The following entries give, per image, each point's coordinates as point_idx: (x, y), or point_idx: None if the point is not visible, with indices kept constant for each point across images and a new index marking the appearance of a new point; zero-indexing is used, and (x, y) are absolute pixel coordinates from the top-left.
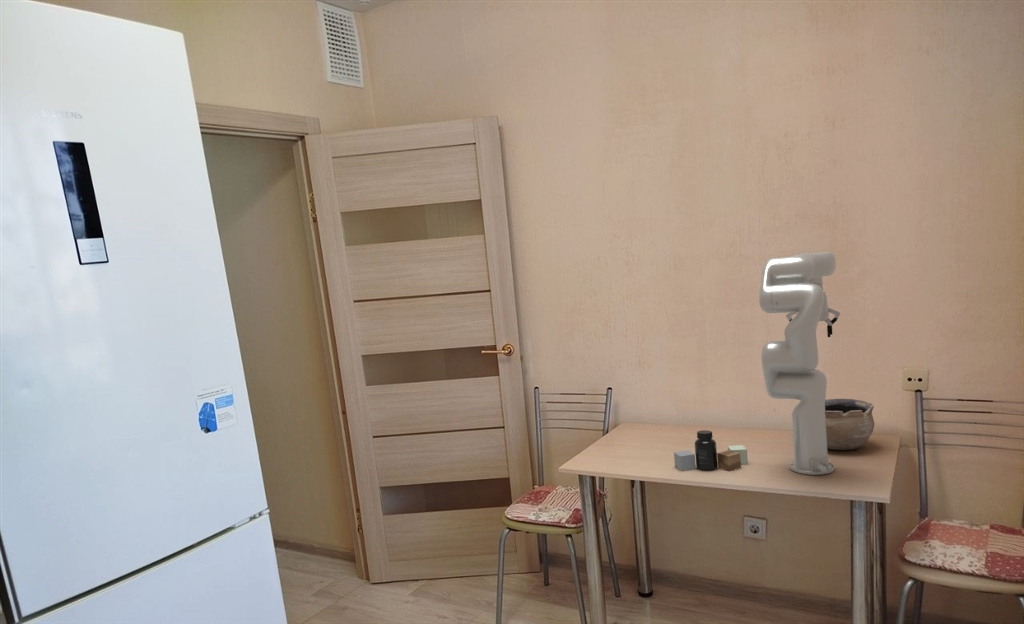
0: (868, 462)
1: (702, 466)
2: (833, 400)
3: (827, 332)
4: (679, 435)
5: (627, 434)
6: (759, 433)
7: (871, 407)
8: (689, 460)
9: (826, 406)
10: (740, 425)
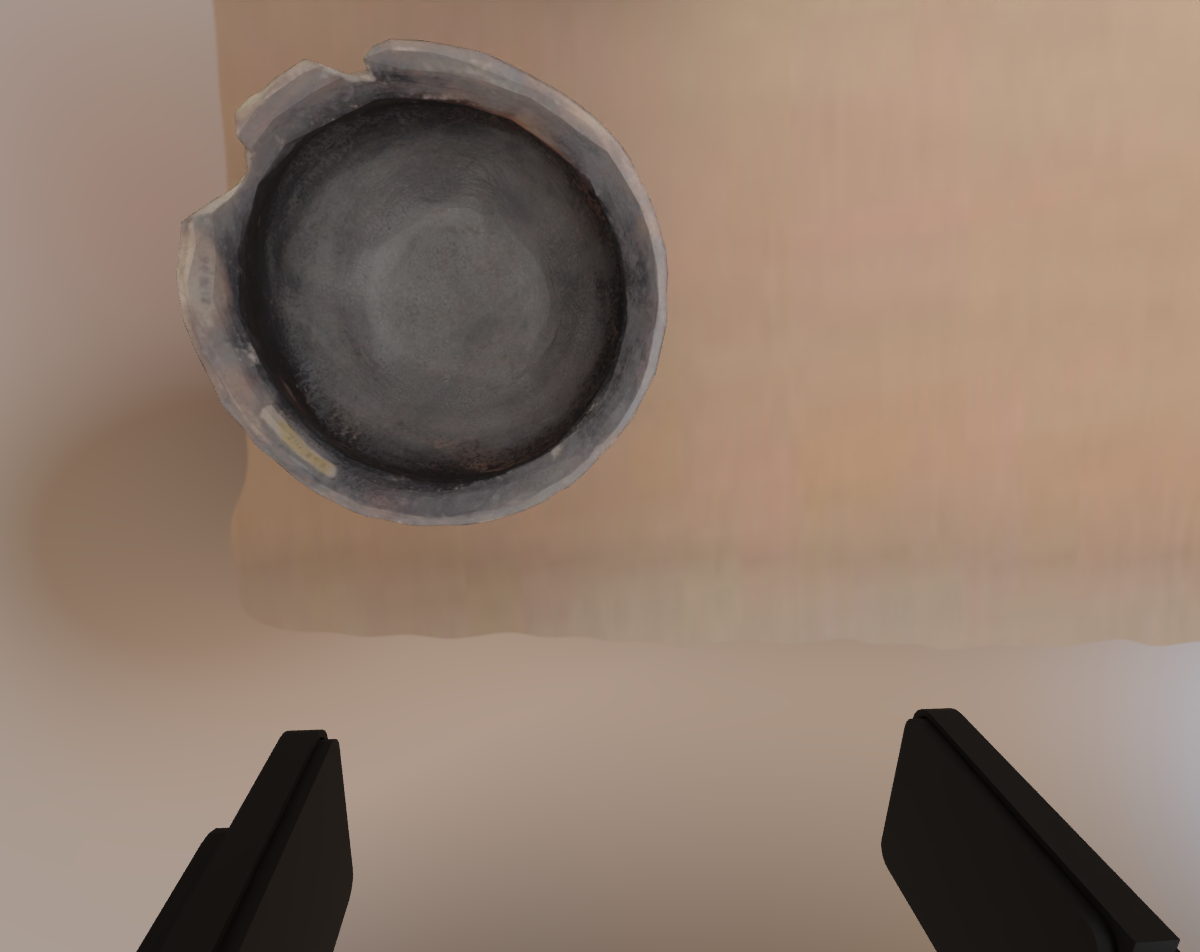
0: (306, 24)
1: None
2: (475, 506)
3: (297, 819)
4: (1195, 373)
5: None
6: (833, 475)
7: (183, 225)
8: None
9: (519, 465)
10: (916, 596)
